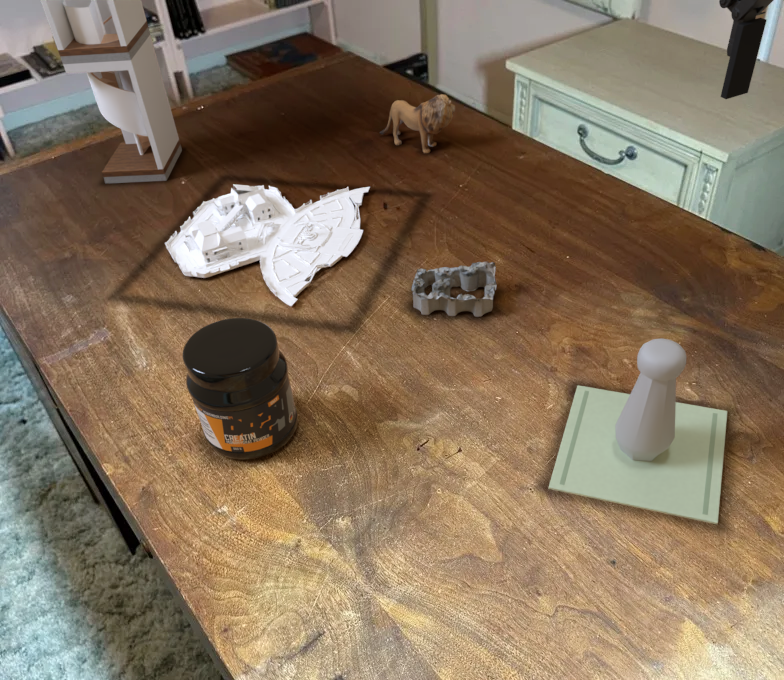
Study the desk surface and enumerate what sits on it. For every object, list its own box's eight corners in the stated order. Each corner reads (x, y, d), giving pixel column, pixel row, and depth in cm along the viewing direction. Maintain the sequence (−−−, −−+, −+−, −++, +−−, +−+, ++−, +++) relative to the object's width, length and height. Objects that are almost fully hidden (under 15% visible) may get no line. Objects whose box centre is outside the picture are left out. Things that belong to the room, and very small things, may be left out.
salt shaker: (672, 470, 77) (700, 370, 67) (613, 466, 78) (633, 367, 68) (667, 429, 81) (693, 330, 71) (611, 426, 82) (629, 327, 72)
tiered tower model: (124, 153, 138) (48, -79, 112) (182, 150, 137) (118, -84, 112) (105, 183, 130) (19, -59, 105) (166, 180, 129) (94, -64, 104)
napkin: (577, 387, 87) (577, 384, 86) (726, 412, 82) (727, 410, 82) (548, 489, 77) (548, 487, 76) (717, 525, 72) (717, 522, 72)
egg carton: (498, 287, 101) (499, 260, 98) (491, 321, 96) (492, 294, 93) (419, 282, 103) (418, 255, 100) (408, 315, 98) (406, 288, 95)
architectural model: (130, 286, 106) (120, 259, 103) (231, 176, 127) (226, 151, 124) (316, 310, 99) (312, 282, 96) (391, 189, 120) (389, 163, 117)
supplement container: (193, 461, 83) (161, 377, 74) (221, 396, 90) (195, 312, 81) (287, 467, 81) (266, 381, 72) (308, 400, 88) (291, 314, 80)
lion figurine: (460, 145, 131) (459, 91, 124) (444, 158, 128) (443, 103, 121) (387, 131, 137) (383, 78, 130) (371, 143, 134) (366, 89, 127)
